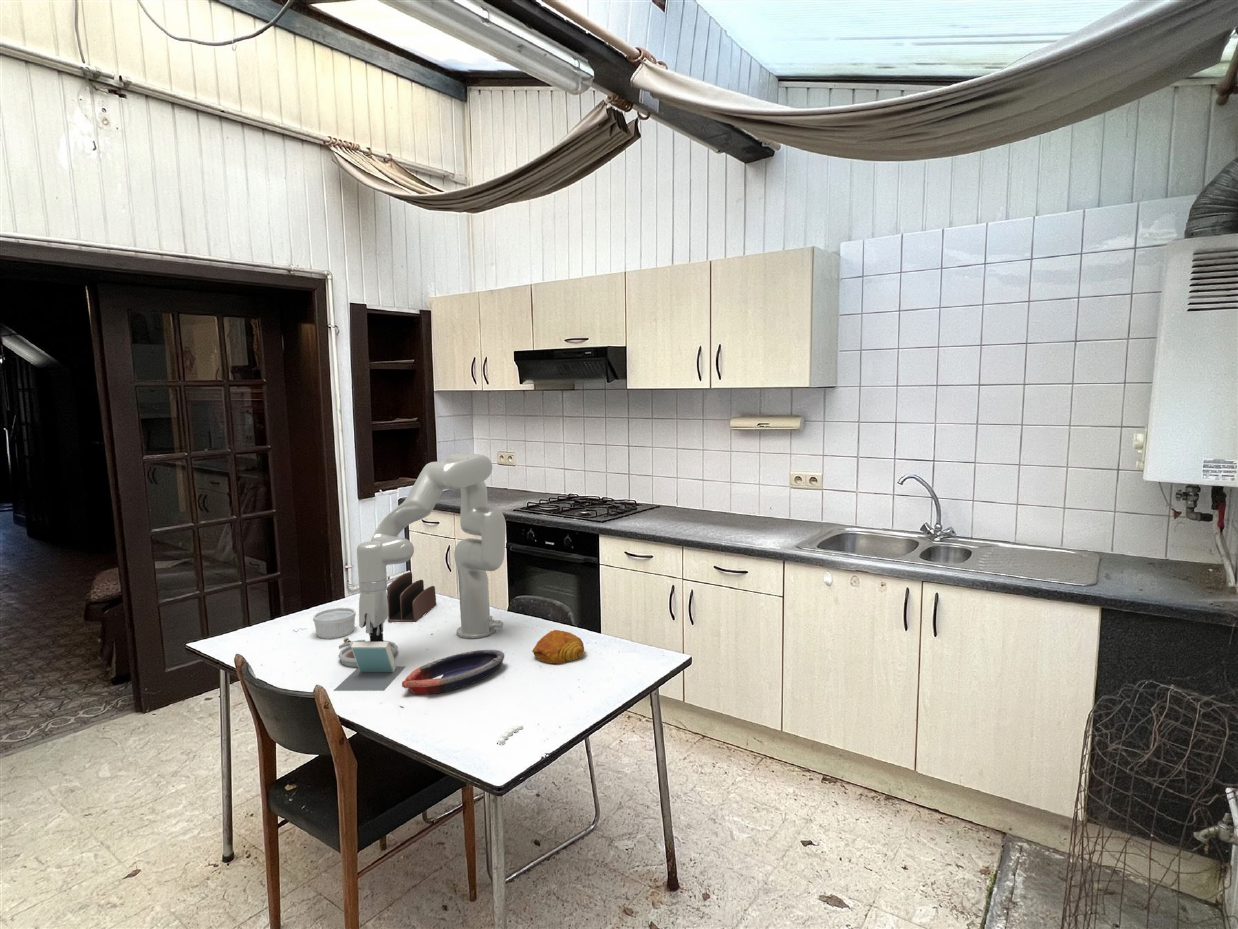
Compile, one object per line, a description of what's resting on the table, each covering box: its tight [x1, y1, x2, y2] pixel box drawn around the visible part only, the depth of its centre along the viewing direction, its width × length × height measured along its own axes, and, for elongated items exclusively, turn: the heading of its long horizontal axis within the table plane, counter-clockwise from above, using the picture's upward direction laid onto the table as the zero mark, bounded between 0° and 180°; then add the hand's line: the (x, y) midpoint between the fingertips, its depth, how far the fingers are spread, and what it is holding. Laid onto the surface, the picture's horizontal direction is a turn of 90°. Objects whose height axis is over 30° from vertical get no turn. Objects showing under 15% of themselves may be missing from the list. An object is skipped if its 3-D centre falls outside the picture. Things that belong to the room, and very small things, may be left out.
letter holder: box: [386, 571, 437, 623], centre depth 245 cm, size 10×20×14 cm, turn 173°
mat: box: [332, 665, 407, 692], centre depth 189 cm, size 14×16×1 cm
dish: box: [401, 649, 506, 695], centre depth 187 cm, size 16×31×5 cm, turn 130°
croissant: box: [531, 629, 585, 665], centre depth 203 cm, size 14×16×8 cm
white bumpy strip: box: [497, 724, 524, 745], centre depth 155 cm, size 15×4×2 cm, turn 152°
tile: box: [351, 642, 397, 672], centre depth 191 cm, size 10×2×10 cm, turn 87°
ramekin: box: [312, 607, 356, 640], centre depth 227 cm, size 13×13×7 cm
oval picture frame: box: [337, 636, 399, 668], centre depth 208 cm, size 17×3×28 cm
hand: (377, 647), depth 194 cm, fingers closed
